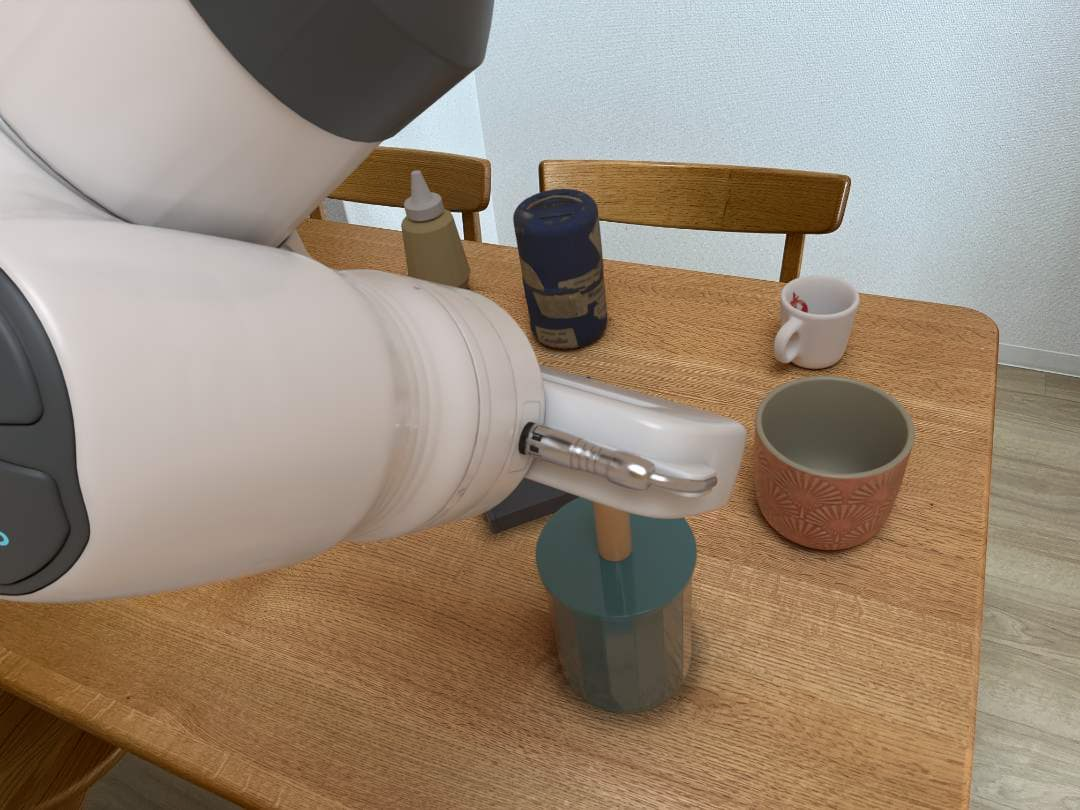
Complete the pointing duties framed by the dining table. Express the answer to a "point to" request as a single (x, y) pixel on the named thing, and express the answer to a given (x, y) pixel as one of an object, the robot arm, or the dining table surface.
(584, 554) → the teal lid with handle
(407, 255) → the squeeze bottle
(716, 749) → the dining table surface
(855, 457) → the planter
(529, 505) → the tray
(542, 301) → the canister
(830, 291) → the cup
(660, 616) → the faceted pencil holder
